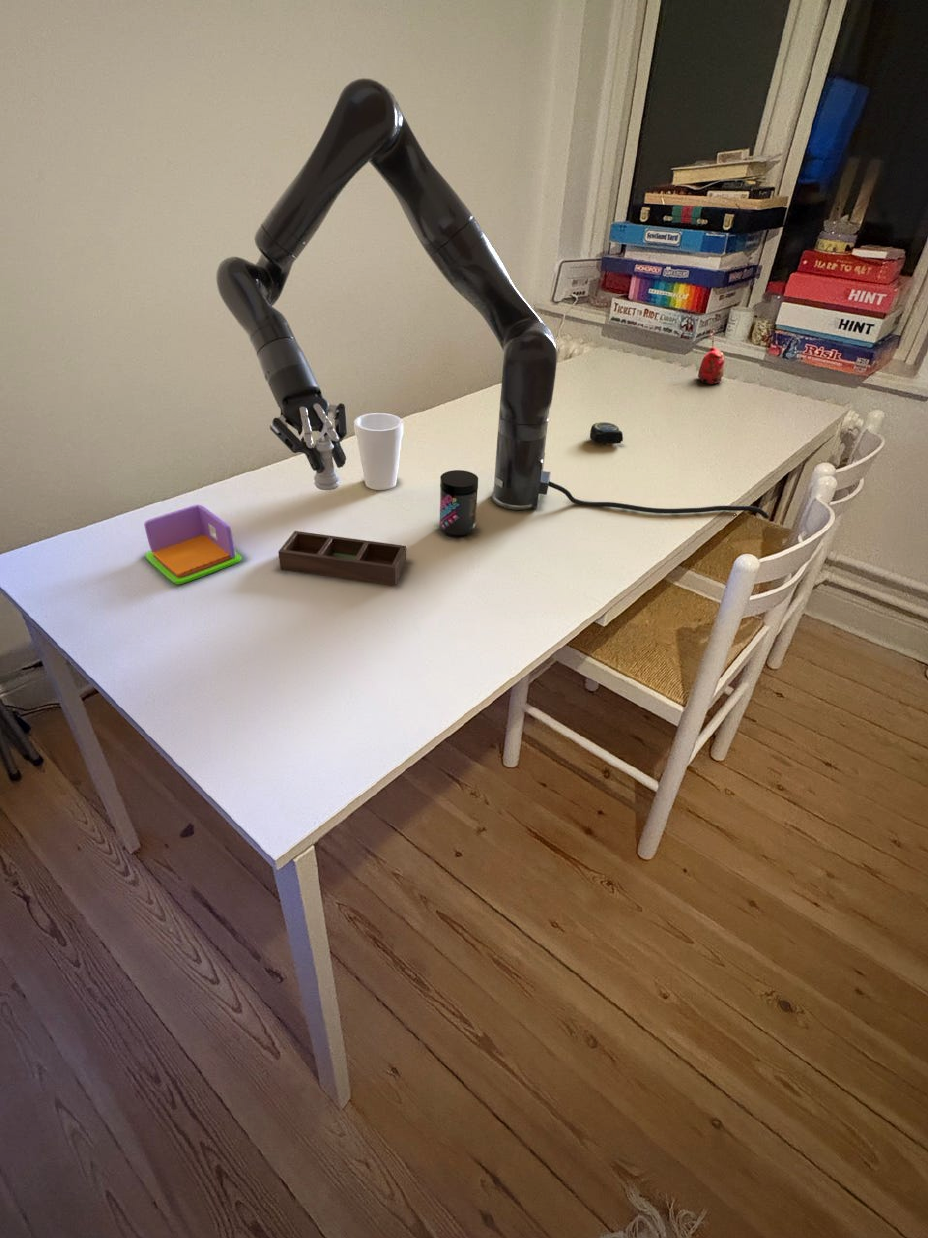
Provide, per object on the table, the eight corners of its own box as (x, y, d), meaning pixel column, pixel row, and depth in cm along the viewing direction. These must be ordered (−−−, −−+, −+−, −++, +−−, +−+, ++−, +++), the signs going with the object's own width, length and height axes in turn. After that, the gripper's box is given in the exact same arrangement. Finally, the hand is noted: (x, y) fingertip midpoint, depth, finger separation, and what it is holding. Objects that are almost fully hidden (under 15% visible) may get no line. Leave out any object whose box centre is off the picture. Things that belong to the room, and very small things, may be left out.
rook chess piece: (345, 482, 120) (342, 438, 115) (333, 493, 117) (329, 448, 112) (322, 477, 121) (318, 433, 116) (309, 488, 118) (304, 443, 113)
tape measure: (593, 447, 162) (596, 432, 159) (585, 436, 167) (588, 421, 165) (621, 447, 162) (624, 432, 160) (612, 436, 168) (615, 421, 166)
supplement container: (440, 519, 131) (442, 468, 124) (476, 522, 130) (479, 471, 124) (437, 537, 125) (438, 485, 119) (474, 540, 125) (477, 488, 119)
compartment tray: (296, 548, 120) (294, 530, 118) (406, 563, 118) (406, 545, 116) (280, 569, 115) (278, 551, 113) (395, 586, 112) (395, 567, 110)
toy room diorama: (209, 533, 123) (202, 498, 119) (244, 560, 117) (238, 524, 112) (143, 556, 116) (133, 520, 112) (176, 586, 110) (167, 549, 105)
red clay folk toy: (716, 386, 202) (730, 332, 193) (692, 381, 205) (705, 328, 196) (723, 380, 207) (737, 327, 198) (700, 375, 210) (713, 323, 201)
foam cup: (396, 496, 138) (394, 433, 130) (351, 490, 139) (347, 427, 131) (408, 476, 145) (408, 415, 137) (366, 470, 146) (363, 410, 139)
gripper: (253, 369, 108) (300, 469, 108) (332, 355, 116) (375, 449, 116) (244, 393, 115) (287, 488, 115) (319, 378, 122) (360, 467, 122)
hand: (331, 467), depth 115 cm, fingers closed on rook chess piece, 3 cm apart
